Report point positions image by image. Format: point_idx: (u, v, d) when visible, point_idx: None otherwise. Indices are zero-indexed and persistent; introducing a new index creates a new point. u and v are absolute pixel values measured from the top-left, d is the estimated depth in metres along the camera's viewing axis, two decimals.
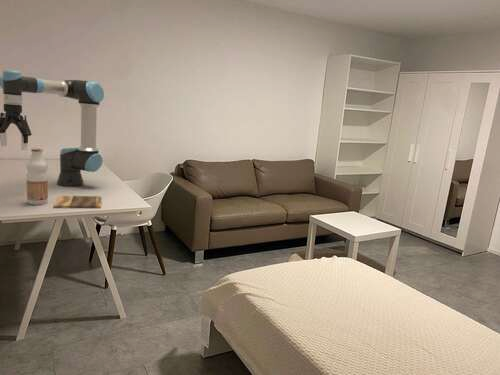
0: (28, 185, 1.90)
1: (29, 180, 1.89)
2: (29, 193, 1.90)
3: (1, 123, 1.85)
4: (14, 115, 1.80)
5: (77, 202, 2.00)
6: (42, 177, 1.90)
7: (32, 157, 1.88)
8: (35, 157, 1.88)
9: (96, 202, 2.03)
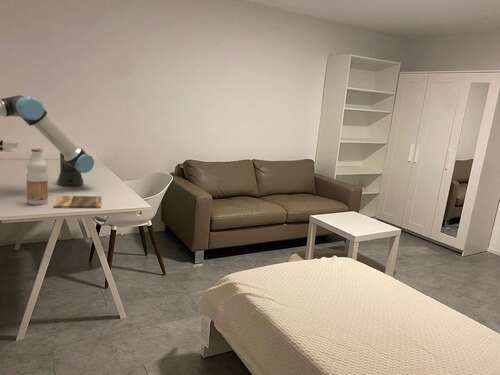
0: (28, 185, 1.90)
1: (29, 180, 1.89)
2: (29, 193, 1.90)
3: None
4: None
5: (77, 202, 2.00)
6: (42, 177, 1.90)
7: (32, 157, 1.88)
8: (35, 157, 1.88)
9: (96, 202, 2.03)
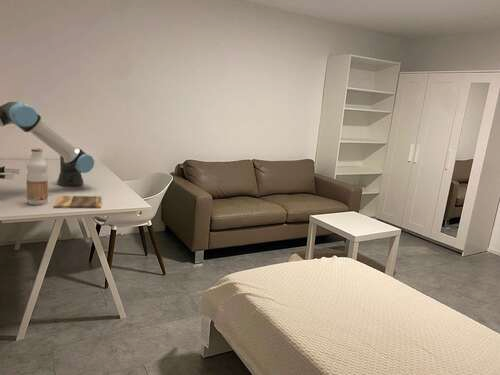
0: (28, 185, 1.90)
1: (29, 180, 1.89)
2: (29, 193, 1.90)
3: None
4: None
5: (77, 202, 2.00)
6: (42, 177, 1.90)
7: (32, 157, 1.88)
8: (35, 157, 1.88)
9: (96, 202, 2.03)
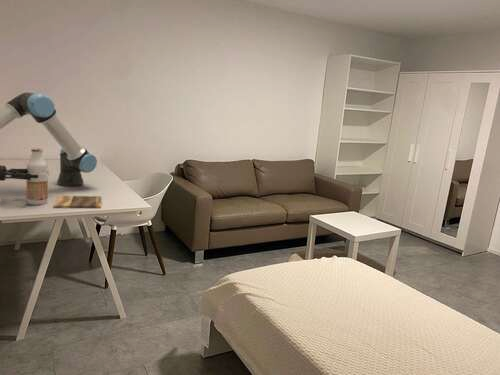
0: (28, 185, 1.90)
1: (29, 180, 1.89)
2: (29, 193, 1.90)
3: None
4: None
5: (77, 202, 2.00)
6: None
7: (32, 157, 1.88)
8: (35, 157, 1.88)
9: (96, 202, 2.03)
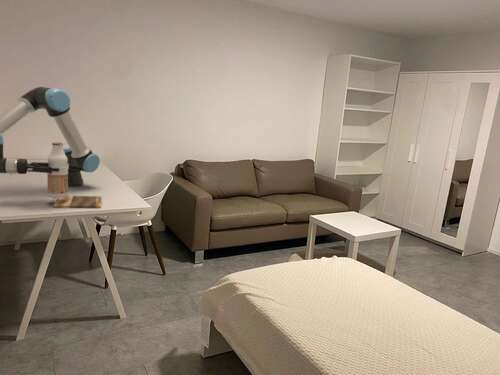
0: (48, 178, 1.91)
1: None
2: (50, 186, 1.91)
3: None
4: (28, 169, 1.87)
5: (77, 202, 2.00)
6: None
7: (53, 151, 1.90)
8: (56, 151, 1.90)
9: (96, 202, 2.03)
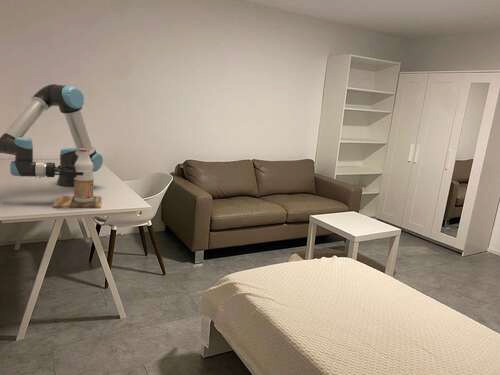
0: (75, 184, 1.97)
1: (77, 179, 1.96)
2: (77, 191, 1.98)
3: None
4: None
5: (77, 202, 2.00)
6: None
7: (80, 157, 1.96)
8: (82, 157, 1.96)
9: (96, 202, 2.03)
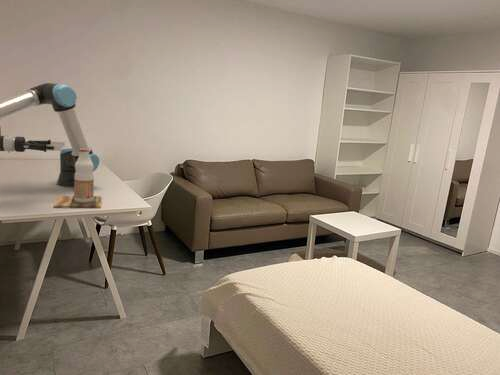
0: (76, 183, 1.97)
1: (77, 179, 1.96)
2: (77, 191, 1.98)
3: None
4: None
5: (77, 202, 2.00)
6: (89, 176, 1.98)
7: (80, 157, 1.96)
8: (83, 157, 1.96)
9: (96, 202, 2.03)
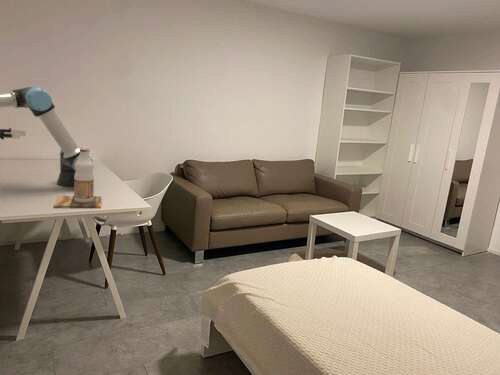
0: (76, 184, 1.97)
1: (77, 179, 1.96)
2: (77, 192, 1.98)
3: None
4: None
5: (77, 202, 2.00)
6: (89, 176, 1.98)
7: (80, 157, 1.96)
8: (83, 157, 1.96)
9: (96, 202, 2.03)
